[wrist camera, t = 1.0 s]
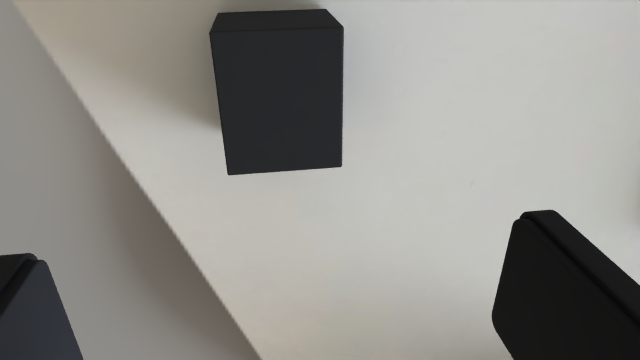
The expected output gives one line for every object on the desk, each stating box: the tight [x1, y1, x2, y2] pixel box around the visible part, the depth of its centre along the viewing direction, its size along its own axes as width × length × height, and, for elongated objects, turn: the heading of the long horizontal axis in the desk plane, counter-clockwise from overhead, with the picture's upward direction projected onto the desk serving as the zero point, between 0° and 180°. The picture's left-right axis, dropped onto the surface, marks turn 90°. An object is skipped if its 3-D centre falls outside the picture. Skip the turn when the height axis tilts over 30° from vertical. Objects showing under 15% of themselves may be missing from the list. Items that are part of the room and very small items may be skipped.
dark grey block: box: [209, 9, 344, 175], centre depth 20 cm, size 6×5×4 cm
